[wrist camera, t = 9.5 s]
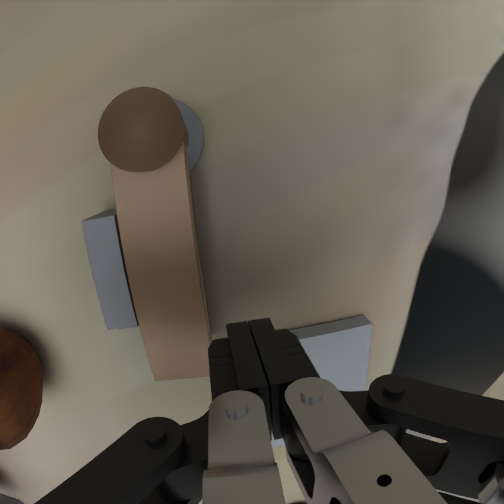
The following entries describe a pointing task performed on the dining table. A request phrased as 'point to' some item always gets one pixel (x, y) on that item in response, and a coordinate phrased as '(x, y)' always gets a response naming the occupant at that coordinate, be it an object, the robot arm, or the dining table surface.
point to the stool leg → (158, 229)
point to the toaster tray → (8, 500)
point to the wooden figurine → (18, 388)
